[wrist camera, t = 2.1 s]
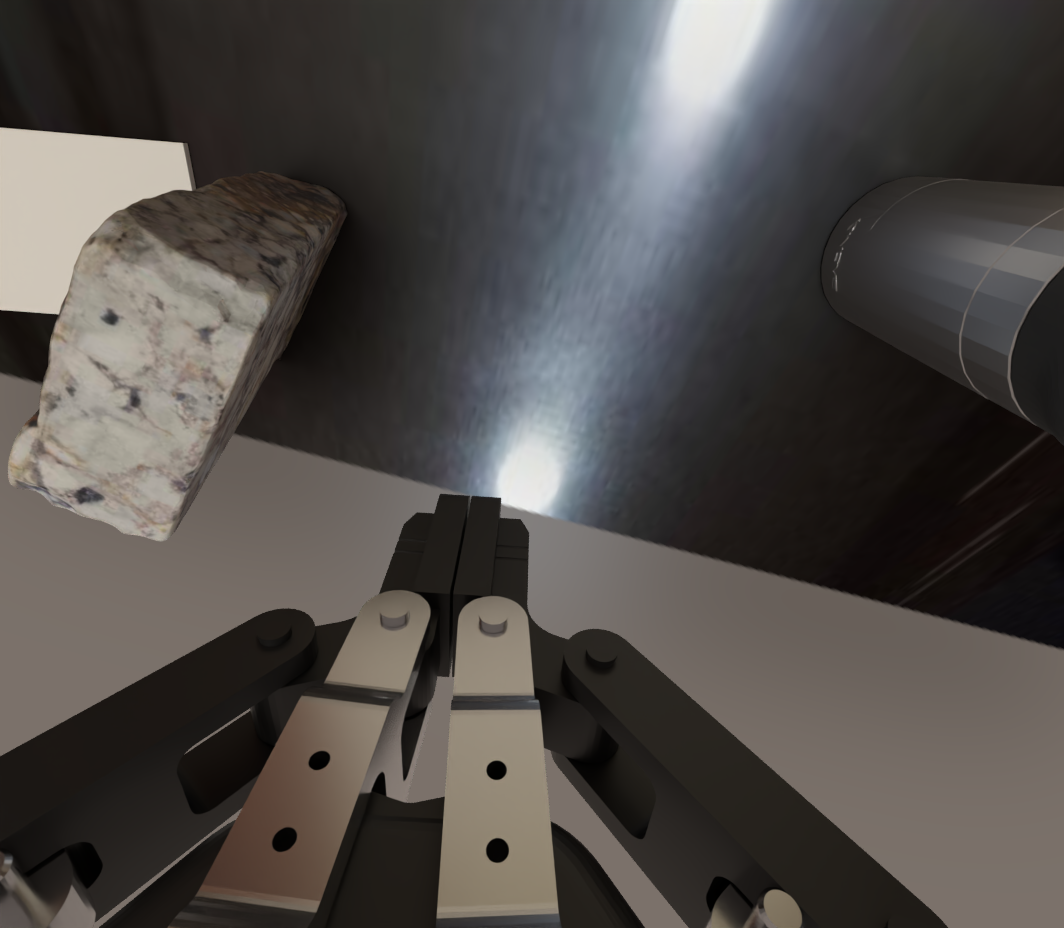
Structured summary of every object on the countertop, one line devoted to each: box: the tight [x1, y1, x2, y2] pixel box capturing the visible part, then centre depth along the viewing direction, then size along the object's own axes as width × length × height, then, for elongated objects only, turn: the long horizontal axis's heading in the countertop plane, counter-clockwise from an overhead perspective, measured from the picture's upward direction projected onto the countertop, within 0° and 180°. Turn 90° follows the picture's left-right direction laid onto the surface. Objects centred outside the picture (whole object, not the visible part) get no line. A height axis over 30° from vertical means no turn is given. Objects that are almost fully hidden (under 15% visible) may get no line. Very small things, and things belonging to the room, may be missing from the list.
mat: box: [0, 128, 196, 314], centre depth 36 cm, size 18×11×1 cm, turn 86°
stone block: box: [8, 171, 347, 541], centre depth 29 cm, size 13×7×20 cm, turn 151°
